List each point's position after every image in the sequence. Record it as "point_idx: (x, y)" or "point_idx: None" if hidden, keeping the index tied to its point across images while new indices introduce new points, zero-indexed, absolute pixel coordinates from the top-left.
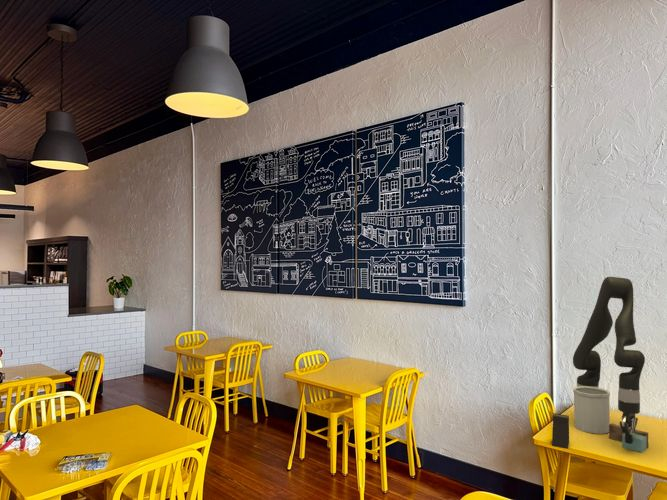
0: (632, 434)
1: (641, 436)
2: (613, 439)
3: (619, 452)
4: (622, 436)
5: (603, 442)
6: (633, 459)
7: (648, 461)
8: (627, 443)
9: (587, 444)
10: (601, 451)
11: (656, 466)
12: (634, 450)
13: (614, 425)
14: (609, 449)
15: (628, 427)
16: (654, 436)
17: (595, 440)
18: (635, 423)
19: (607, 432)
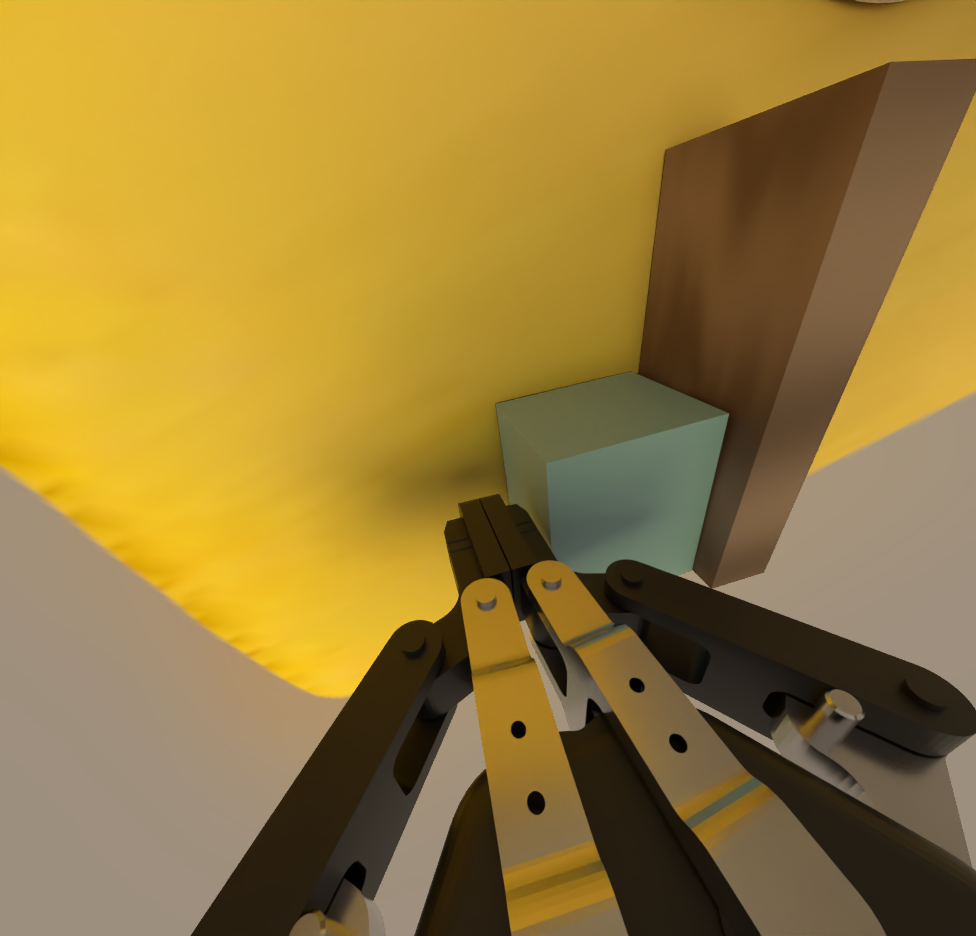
0: (663, 496)
1: (662, 558)
2: (660, 215)
3: (336, 466)
4: (538, 456)
5: (460, 183)
6: (310, 589)
7: (389, 629)
8: (516, 470)
9: (82, 26)
10: (118, 362)
11: (356, 679)
12: (508, 493)
13: (860, 197)
14: (302, 372)
15: (387, 844)
16: (927, 385)
17: (429, 30)
18: (727, 715)
19: (872, 2)
